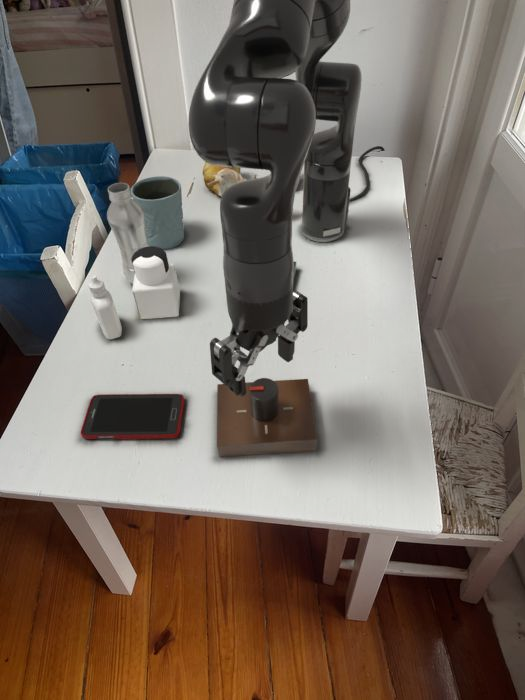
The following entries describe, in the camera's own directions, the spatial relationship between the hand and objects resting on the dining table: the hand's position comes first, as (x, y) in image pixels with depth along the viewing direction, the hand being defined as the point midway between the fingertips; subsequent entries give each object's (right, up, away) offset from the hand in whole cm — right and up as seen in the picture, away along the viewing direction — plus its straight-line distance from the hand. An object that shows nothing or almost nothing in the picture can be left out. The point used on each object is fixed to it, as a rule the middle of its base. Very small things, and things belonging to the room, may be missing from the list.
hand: (262, 374), depth 65 cm
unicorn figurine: (-2, +31, +44) cm, 54 cm away
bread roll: (-10, +44, +57) cm, 73 cm away
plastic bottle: (-24, +17, +33) cm, 44 cm away
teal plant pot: (-21, +28, +43) cm, 55 cm away
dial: (0, -6, +6) cm, 8 cm away
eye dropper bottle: (-27, +7, +23) cm, 36 cm away
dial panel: (0, -8, +8) cm, 11 cm away
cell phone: (-20, -7, +10) cm, 23 cm away
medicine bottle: (-19, +12, +27) cm, 35 cm away
